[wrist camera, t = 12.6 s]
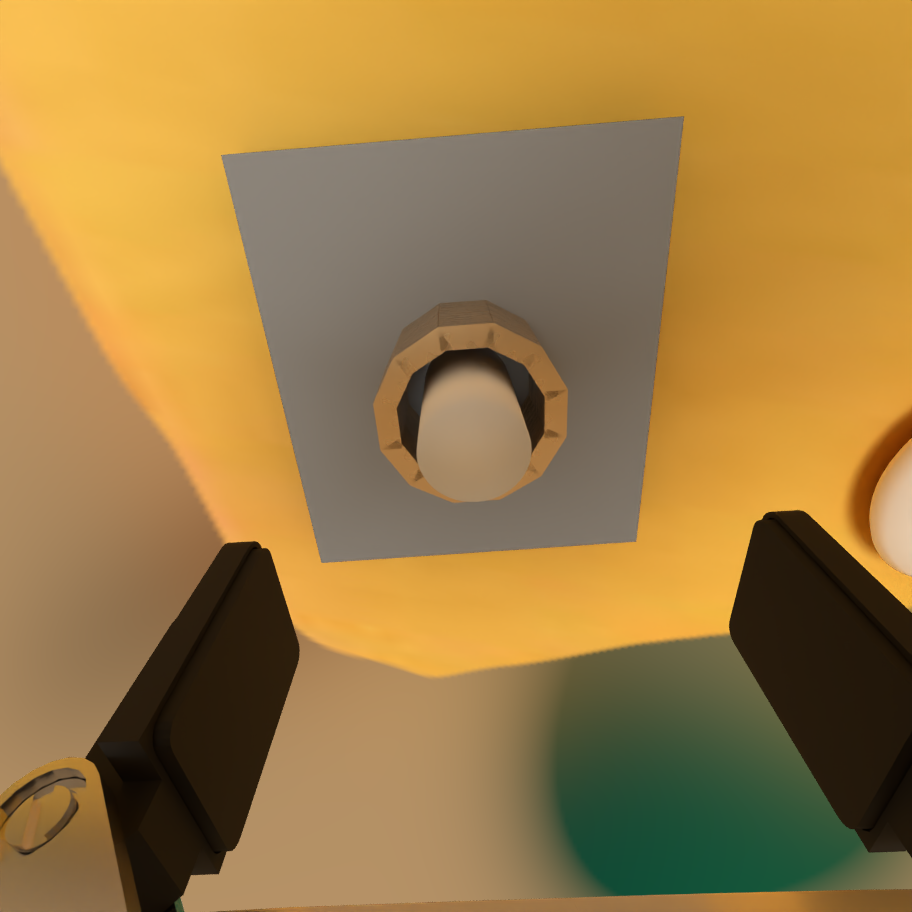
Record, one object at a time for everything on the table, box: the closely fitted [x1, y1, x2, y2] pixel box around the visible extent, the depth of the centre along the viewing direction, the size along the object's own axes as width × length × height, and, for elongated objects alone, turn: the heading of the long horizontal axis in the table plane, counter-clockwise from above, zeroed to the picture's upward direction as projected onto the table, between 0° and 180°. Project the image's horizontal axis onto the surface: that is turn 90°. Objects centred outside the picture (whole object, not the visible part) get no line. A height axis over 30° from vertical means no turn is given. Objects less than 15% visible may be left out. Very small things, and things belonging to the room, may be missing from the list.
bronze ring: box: [373, 300, 568, 503], centre depth 20 cm, size 7×7×4 cm
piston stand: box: [221, 116, 684, 563], centre depth 20 cm, size 18×16×8 cm
